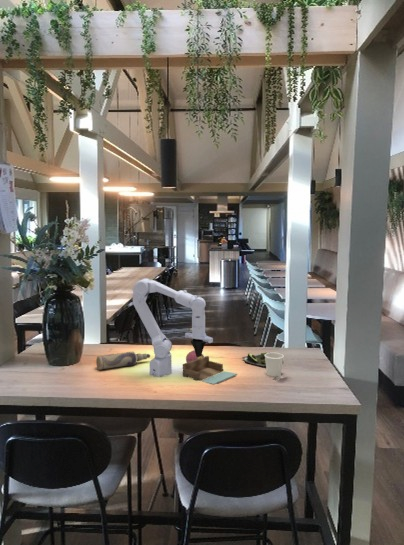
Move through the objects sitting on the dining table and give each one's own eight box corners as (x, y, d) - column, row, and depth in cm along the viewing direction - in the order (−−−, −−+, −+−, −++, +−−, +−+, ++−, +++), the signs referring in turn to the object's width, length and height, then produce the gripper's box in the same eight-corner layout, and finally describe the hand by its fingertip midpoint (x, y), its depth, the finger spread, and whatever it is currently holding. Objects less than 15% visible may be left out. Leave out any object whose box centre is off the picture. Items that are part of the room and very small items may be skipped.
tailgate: (200, 382, 182) (214, 385, 177) (200, 380, 182) (214, 384, 177) (224, 373, 194) (238, 375, 189) (224, 371, 194) (238, 374, 189)
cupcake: (203, 353, 208) (207, 347, 197) (202, 371, 205) (206, 366, 194) (185, 351, 207) (188, 345, 197) (184, 369, 204) (186, 364, 193)
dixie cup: (269, 381, 185) (269, 358, 184) (261, 375, 193) (261, 353, 192) (286, 379, 187) (287, 357, 186) (278, 373, 195) (278, 351, 194)
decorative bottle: (100, 372, 198) (99, 358, 198) (96, 368, 205) (95, 354, 204) (153, 364, 210) (153, 350, 209) (147, 360, 217) (147, 346, 216)
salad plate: (262, 354, 226) (262, 345, 226) (291, 361, 213) (291, 352, 213) (237, 362, 213) (237, 352, 213) (266, 370, 200) (266, 360, 200)
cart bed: (198, 384, 182) (198, 369, 181) (181, 379, 189) (181, 364, 188) (225, 373, 195) (225, 359, 194) (208, 369, 202) (208, 355, 201)
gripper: (217, 326, 187) (217, 357, 188) (192, 321, 196) (192, 351, 198) (206, 329, 182) (206, 361, 183) (181, 324, 191) (181, 354, 193)
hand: (198, 356), depth 190 cm, fingers closed
